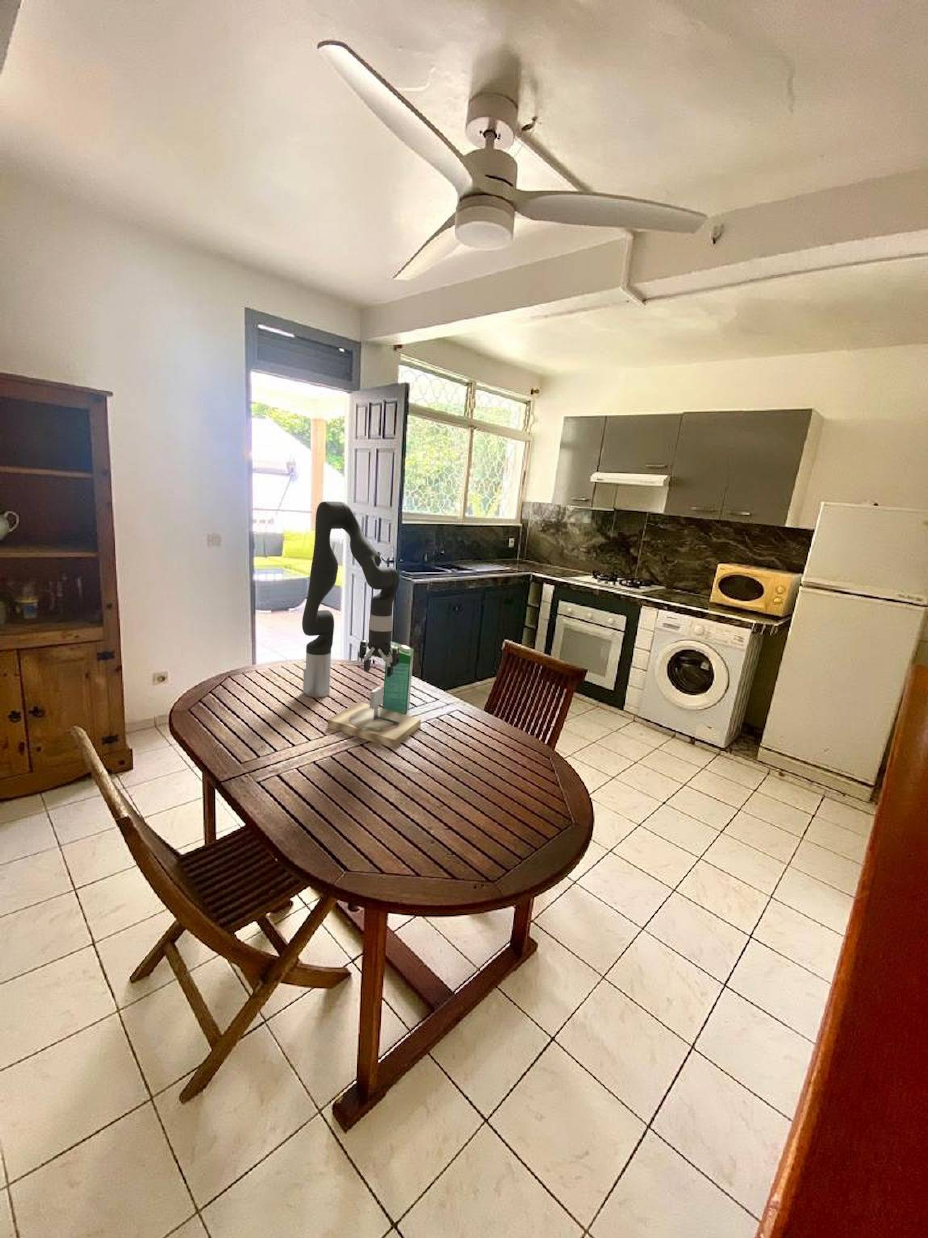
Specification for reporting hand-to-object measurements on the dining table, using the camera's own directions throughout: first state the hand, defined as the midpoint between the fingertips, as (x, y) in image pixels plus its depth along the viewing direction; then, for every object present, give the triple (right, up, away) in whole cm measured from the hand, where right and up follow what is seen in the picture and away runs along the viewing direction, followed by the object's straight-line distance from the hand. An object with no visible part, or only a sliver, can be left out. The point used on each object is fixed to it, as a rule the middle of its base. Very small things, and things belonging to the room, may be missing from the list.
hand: (378, 673), depth 167 cm
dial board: (-2, -19, +5) cm, 20 cm away
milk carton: (+3, -16, +22) cm, 27 cm away
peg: (+2, -17, +3) cm, 17 cm away
